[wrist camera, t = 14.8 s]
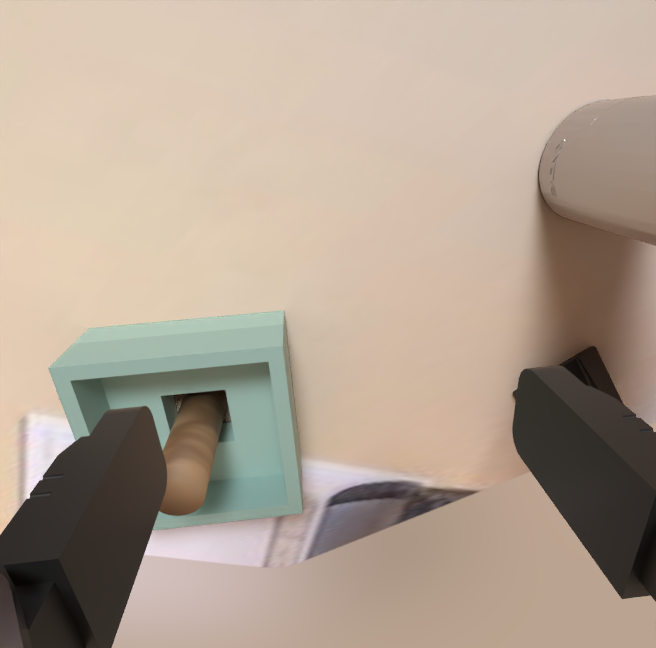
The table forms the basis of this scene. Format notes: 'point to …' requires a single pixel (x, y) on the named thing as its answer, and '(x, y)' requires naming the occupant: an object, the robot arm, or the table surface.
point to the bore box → (190, 377)
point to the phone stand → (590, 372)
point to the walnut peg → (192, 451)
